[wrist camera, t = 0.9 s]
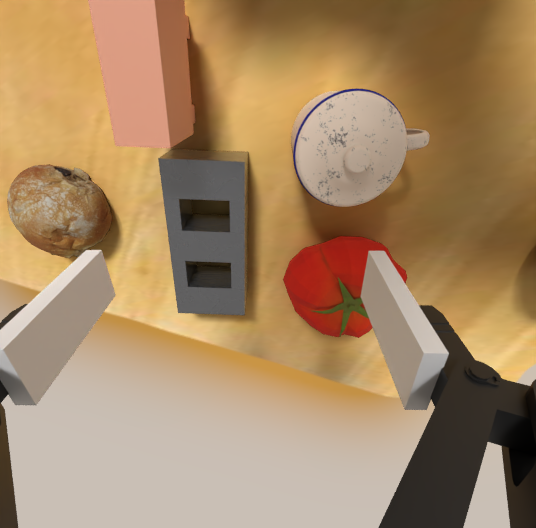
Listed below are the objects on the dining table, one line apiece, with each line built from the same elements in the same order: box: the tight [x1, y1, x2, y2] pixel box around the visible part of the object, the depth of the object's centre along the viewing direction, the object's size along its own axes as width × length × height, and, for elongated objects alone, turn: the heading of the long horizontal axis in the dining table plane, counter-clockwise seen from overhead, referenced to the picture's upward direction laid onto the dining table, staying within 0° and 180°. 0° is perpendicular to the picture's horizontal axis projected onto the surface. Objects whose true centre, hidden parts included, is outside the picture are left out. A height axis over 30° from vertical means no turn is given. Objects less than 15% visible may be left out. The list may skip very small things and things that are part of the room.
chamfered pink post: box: [88, 0, 196, 148], centre depth 26 cm, size 10×4×11 cm, turn 178°
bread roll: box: [7, 165, 112, 258], centre depth 35 cm, size 10×10×8 cm
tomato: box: [283, 236, 407, 338], centre depth 37 cm, size 14×13×9 cm
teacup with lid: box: [291, 89, 430, 207], centre depth 28 cm, size 12×9×12 cm
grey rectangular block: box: [158, 149, 248, 315], centre depth 36 cm, size 18×8×5 cm, turn 178°
